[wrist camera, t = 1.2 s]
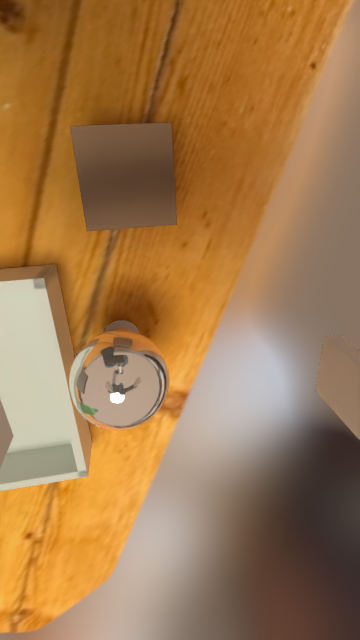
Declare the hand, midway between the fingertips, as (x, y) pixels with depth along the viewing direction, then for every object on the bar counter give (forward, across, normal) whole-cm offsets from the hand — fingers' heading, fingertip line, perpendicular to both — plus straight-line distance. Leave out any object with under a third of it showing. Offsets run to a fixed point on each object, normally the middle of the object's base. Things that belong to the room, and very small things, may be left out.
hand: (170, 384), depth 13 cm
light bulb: (+17, -3, -6) cm, 18 cm away
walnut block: (+18, -1, +7) cm, 19 cm away
